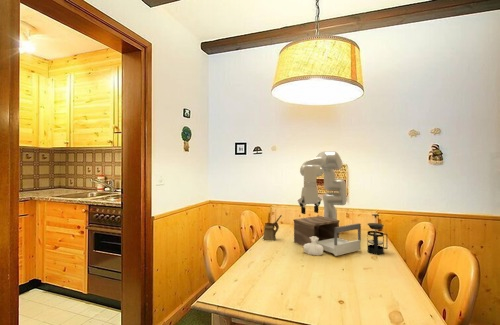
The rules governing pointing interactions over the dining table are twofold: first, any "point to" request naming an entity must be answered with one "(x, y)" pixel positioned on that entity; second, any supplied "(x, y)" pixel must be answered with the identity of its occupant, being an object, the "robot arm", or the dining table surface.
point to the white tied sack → (313, 247)
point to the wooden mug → (270, 230)
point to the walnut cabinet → (314, 229)
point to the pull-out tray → (342, 241)
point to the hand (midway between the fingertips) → (309, 213)
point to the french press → (376, 238)
